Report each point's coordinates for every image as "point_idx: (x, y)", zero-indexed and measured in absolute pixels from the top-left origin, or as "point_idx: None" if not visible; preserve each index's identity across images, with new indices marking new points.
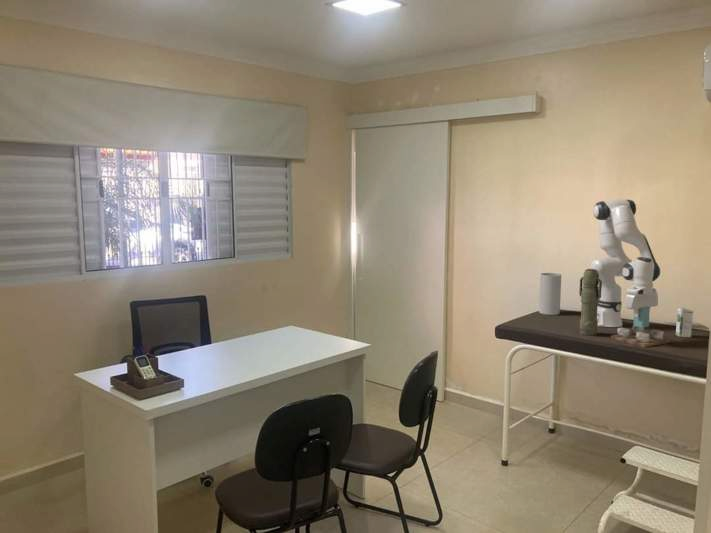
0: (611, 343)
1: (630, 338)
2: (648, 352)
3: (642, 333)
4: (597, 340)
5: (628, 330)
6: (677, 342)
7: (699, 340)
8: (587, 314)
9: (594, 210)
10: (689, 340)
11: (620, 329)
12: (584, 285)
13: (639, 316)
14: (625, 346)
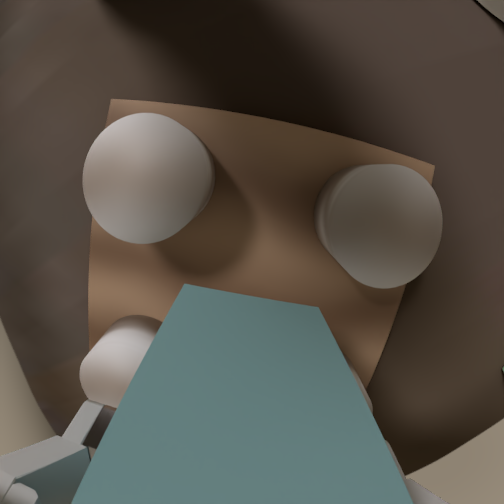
0: (11, 197)
1: (148, 254)
2: (45, 412)
3: (126, 388)
4: (13, 96)
5: (133, 241)
6: (381, 428)
7: (473, 436)
8: None
9: None
10: (456, 424)
11: (90, 171)
12: None
13: None
14: (23, 293)
